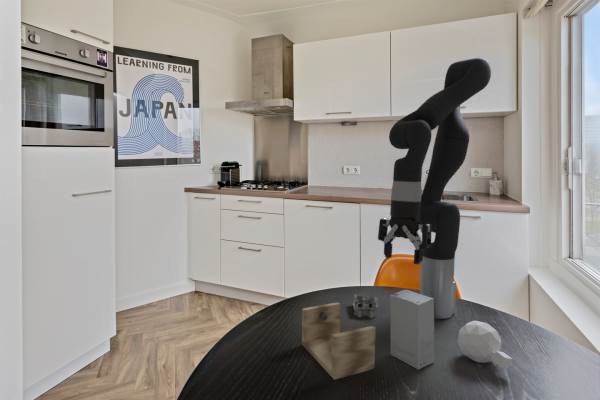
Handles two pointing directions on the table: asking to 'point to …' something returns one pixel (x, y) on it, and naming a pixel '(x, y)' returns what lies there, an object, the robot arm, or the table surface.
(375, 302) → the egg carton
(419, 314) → the skincare box
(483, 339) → the perfume bottle
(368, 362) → the holder
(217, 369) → the table surface
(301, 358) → the table surface
